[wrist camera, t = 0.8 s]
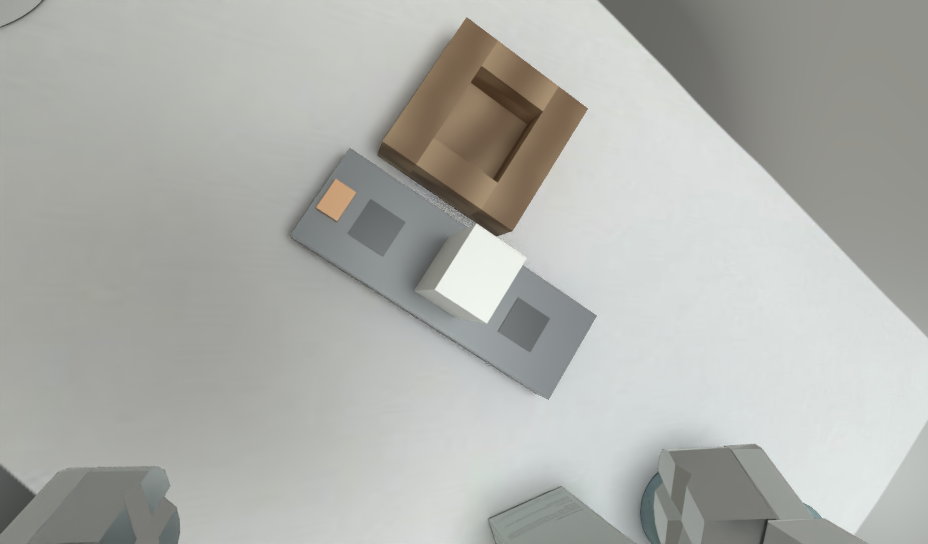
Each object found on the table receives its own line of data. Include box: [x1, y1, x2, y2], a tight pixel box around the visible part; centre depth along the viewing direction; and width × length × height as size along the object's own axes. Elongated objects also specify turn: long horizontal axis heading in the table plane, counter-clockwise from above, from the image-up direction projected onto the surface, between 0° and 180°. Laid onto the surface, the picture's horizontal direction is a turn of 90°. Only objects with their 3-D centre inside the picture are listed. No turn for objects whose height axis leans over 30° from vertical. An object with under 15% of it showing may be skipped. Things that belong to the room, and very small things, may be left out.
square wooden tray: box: [378, 18, 588, 236], centre depth 48 cm, size 12×12×4 cm
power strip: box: [290, 148, 597, 400], centre depth 47 cm, size 24×8×4 cm, turn 58°
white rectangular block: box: [414, 223, 527, 324], centre depth 43 cm, size 4×5×11 cm
